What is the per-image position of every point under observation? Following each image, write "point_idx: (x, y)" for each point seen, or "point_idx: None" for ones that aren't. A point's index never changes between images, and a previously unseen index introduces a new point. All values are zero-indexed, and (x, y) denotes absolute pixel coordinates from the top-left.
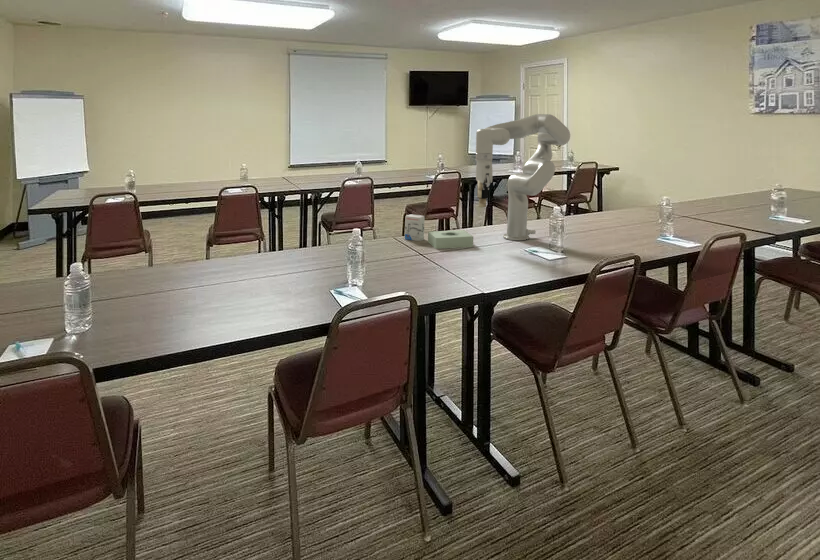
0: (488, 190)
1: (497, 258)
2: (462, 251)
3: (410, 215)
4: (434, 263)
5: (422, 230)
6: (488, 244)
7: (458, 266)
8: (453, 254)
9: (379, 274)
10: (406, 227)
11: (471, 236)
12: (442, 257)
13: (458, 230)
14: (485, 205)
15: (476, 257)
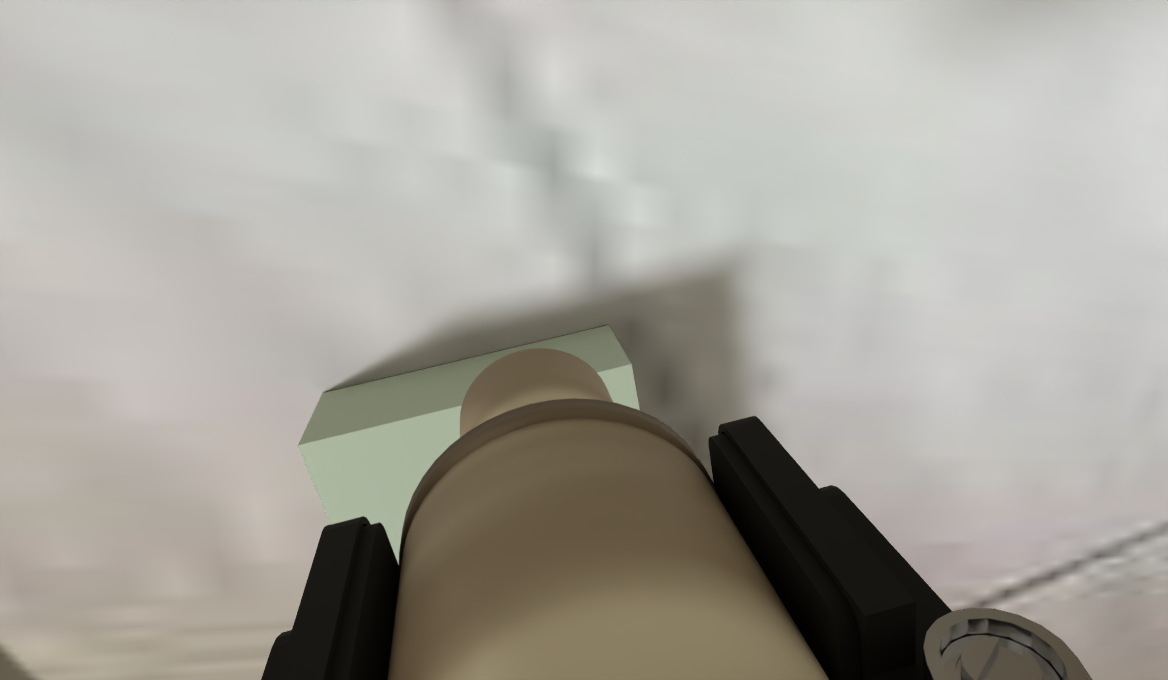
0: (891, 581)
1: (1024, 158)
2: (760, 420)
3: None
4: (1027, 589)
5: None
6: (505, 157)
7: (1132, 458)
8: (839, 485)
9: None
10: None
11: (634, 383)
12: (904, 552)
13: (326, 501)
14: (590, 375)
15: (956, 327)
